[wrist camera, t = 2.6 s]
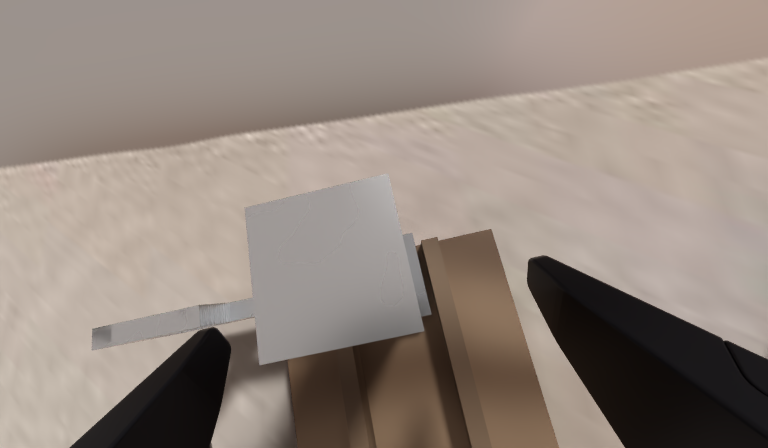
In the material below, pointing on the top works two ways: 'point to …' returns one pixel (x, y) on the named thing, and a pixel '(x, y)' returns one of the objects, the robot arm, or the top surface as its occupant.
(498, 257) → the track board
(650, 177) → the top surface
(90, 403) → the top surface
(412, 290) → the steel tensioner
